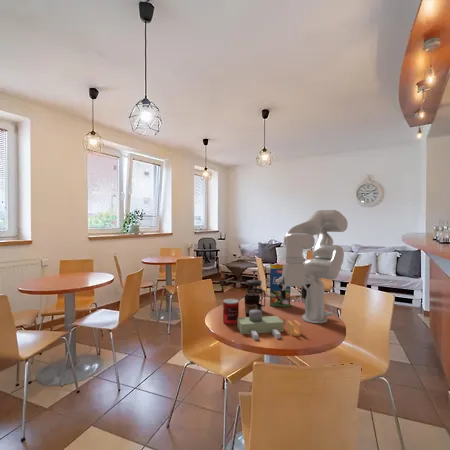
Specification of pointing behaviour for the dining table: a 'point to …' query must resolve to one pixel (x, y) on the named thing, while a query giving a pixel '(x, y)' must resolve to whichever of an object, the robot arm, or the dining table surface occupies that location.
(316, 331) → the dining table surface
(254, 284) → the french press
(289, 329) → the chute
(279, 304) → the blue food package
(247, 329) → the green plate with pegs
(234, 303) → the canned food
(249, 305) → the coffee cup
